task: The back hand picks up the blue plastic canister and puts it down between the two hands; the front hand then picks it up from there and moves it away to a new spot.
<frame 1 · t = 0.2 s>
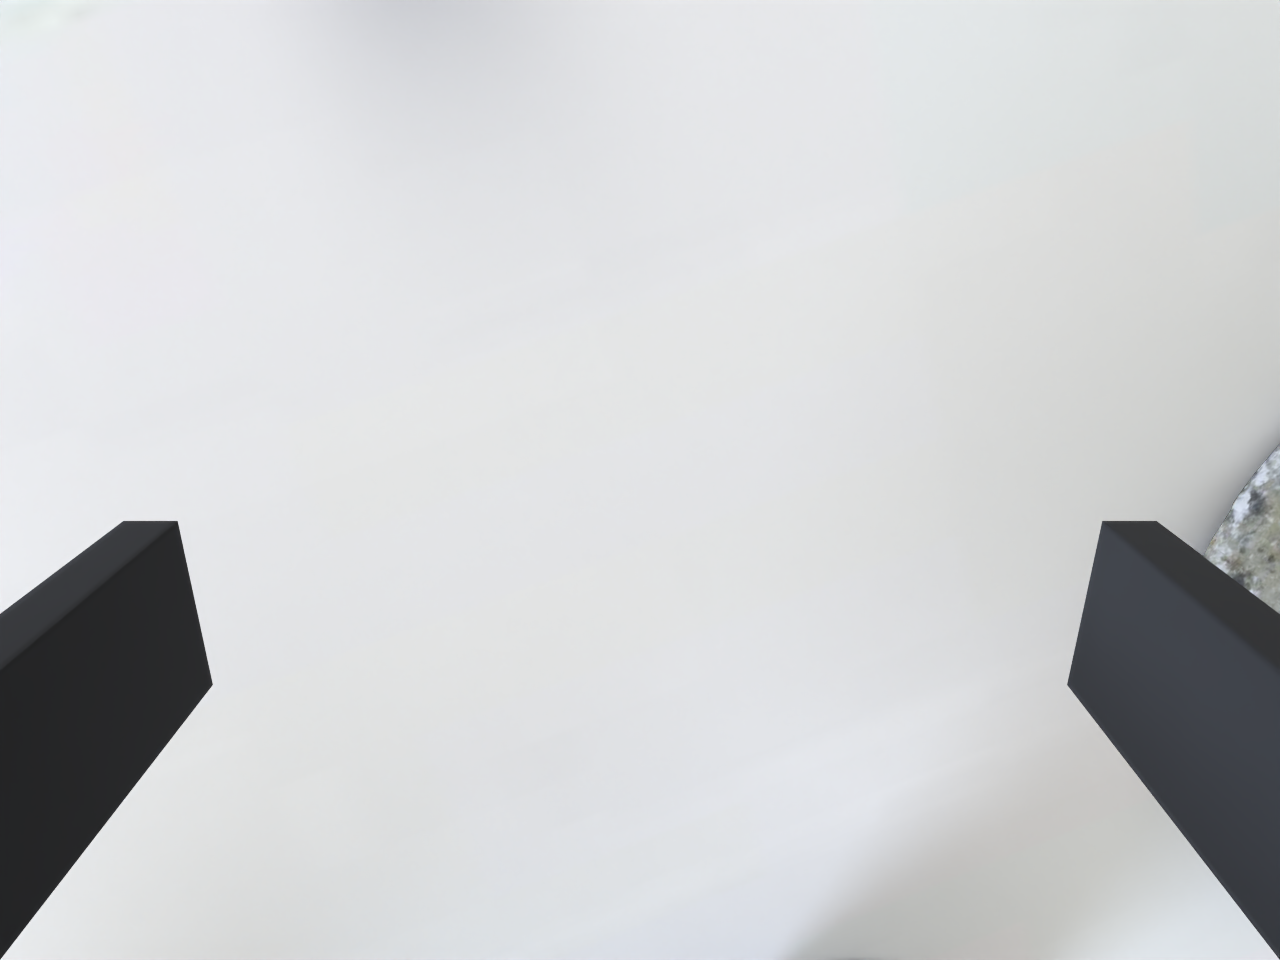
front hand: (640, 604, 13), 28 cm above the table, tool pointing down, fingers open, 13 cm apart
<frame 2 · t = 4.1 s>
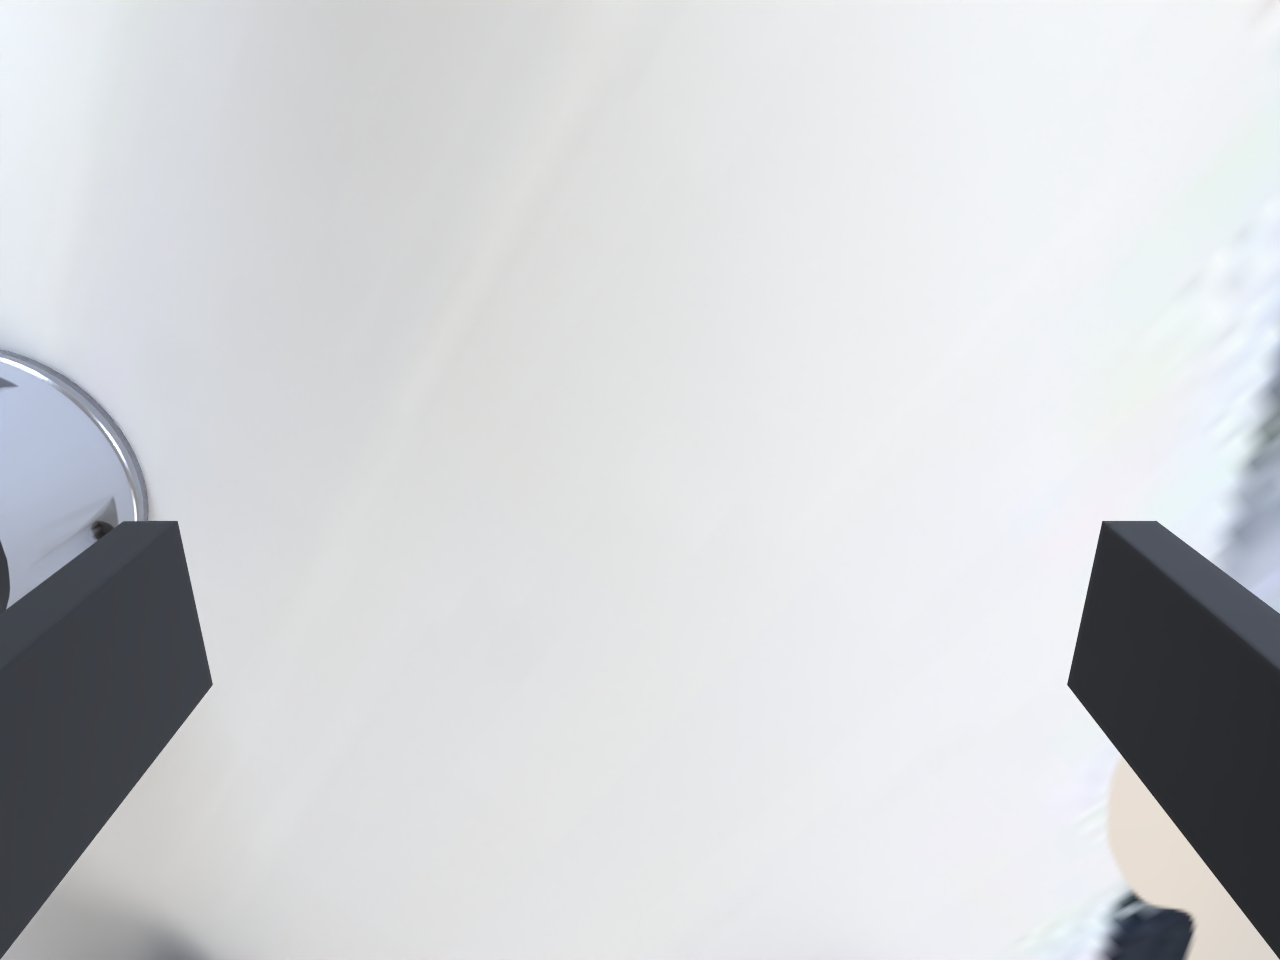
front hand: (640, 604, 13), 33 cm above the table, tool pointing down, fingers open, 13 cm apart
when the back hand's fingers open (4 cm above the table, at t = 9.4 s): canister drops 2 cm, on the table.
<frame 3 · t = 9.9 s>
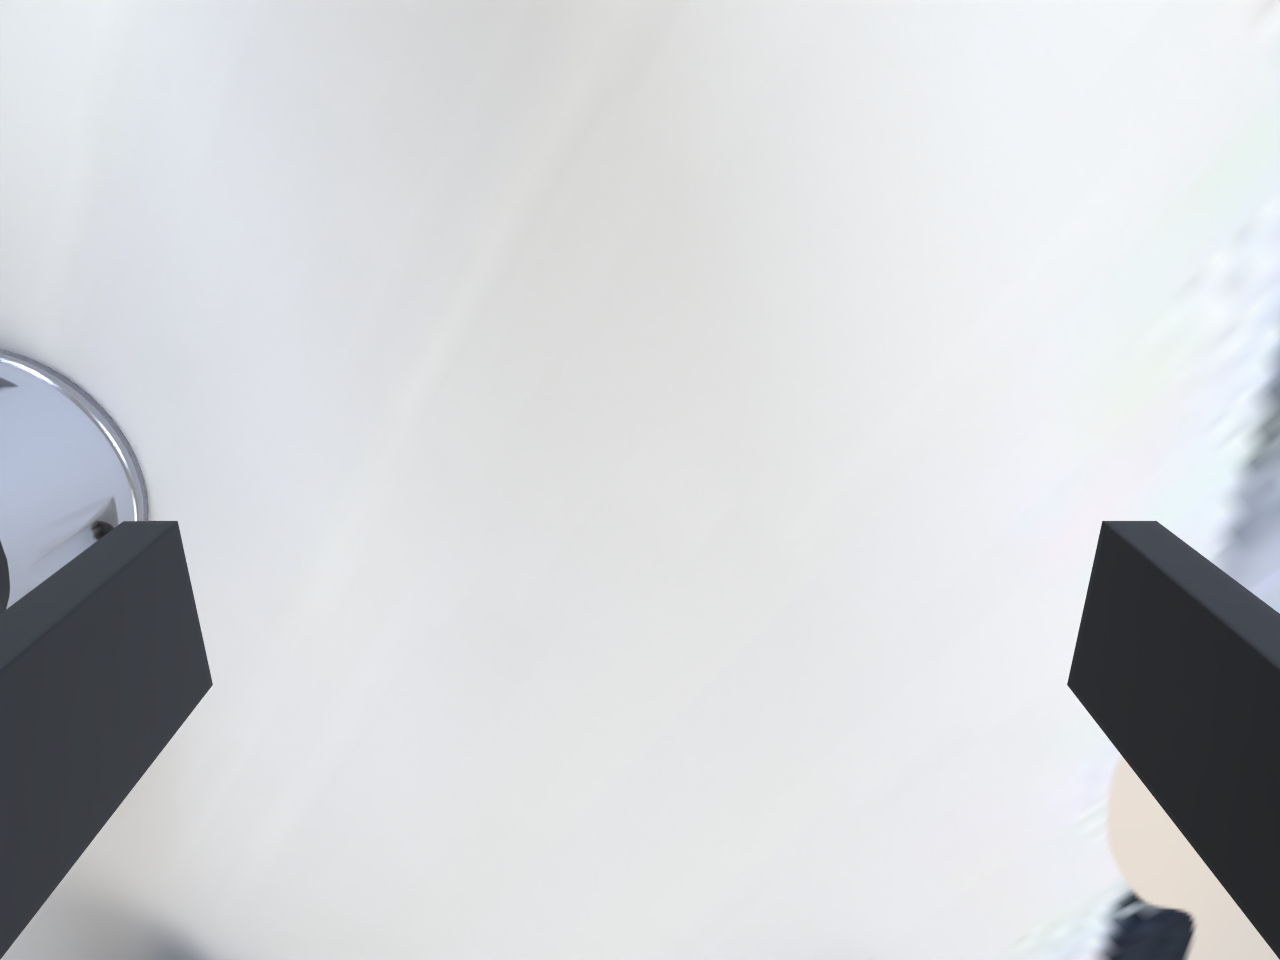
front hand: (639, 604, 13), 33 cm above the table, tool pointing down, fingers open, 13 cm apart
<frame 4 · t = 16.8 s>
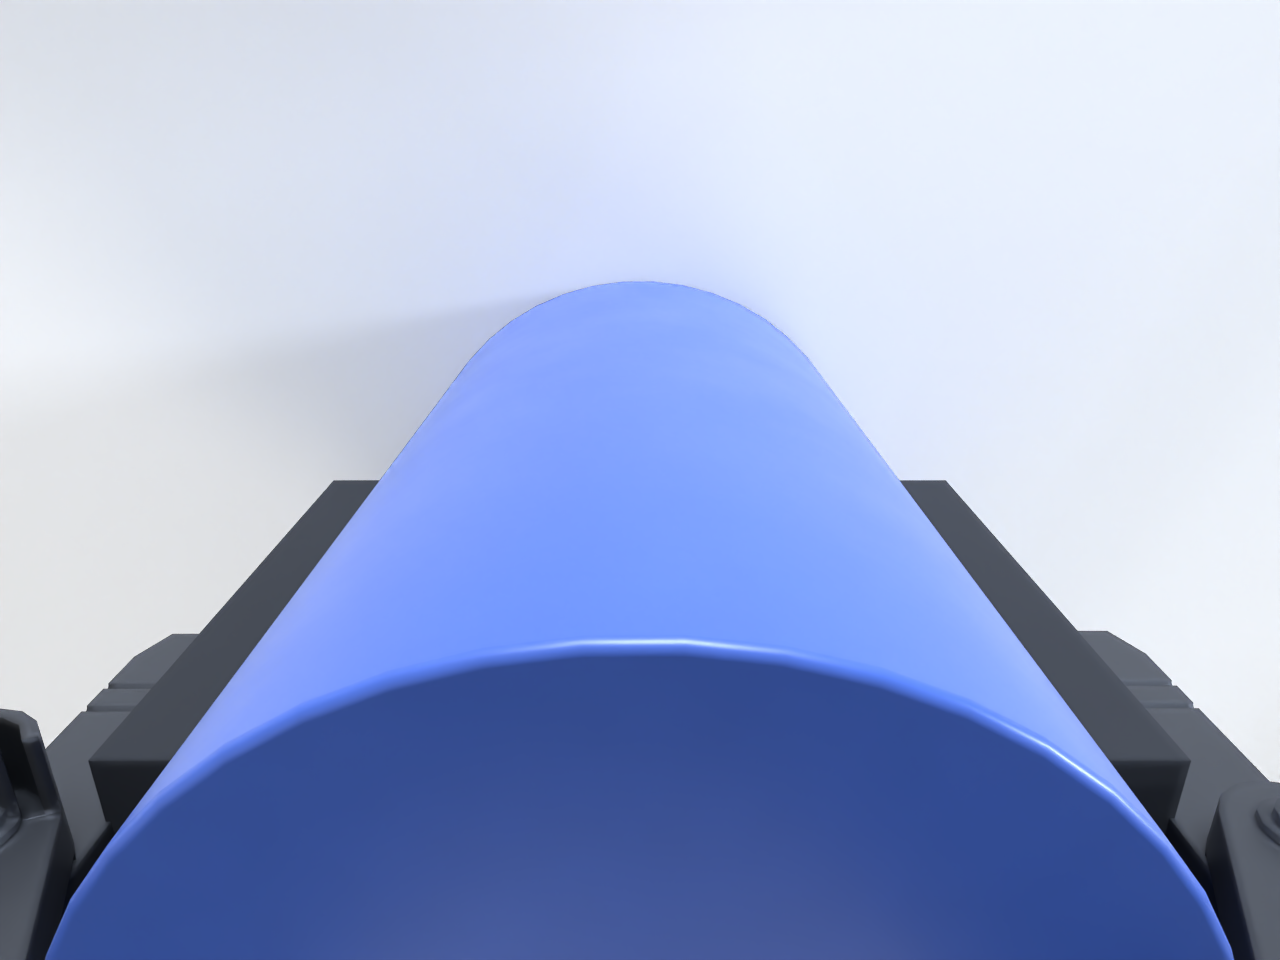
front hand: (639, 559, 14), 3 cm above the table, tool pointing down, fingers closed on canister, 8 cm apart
canister: (639, 493, 17), on the table, touching front hand
when the front hand's fingers open (4 cm above the table, at t = 29.6 s): canister drops 2 cm, on the table.
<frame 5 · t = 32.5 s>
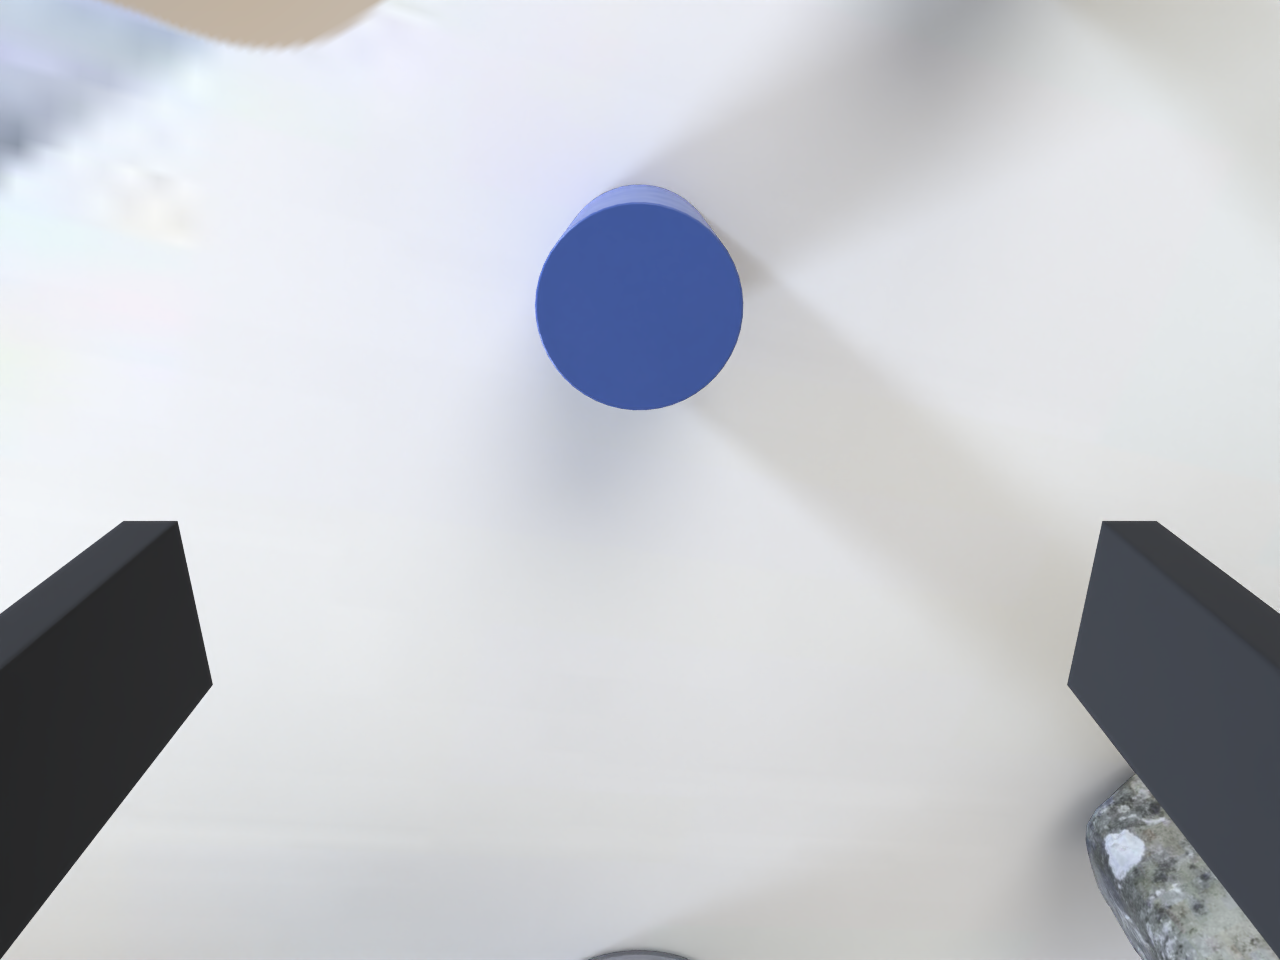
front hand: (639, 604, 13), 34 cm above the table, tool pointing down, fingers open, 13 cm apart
concrete block: (1267, 748, 55), on the table
canister: (639, 267, 44), on the table
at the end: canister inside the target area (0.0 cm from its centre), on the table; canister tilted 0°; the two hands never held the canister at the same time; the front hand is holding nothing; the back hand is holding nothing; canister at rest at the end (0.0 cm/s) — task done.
